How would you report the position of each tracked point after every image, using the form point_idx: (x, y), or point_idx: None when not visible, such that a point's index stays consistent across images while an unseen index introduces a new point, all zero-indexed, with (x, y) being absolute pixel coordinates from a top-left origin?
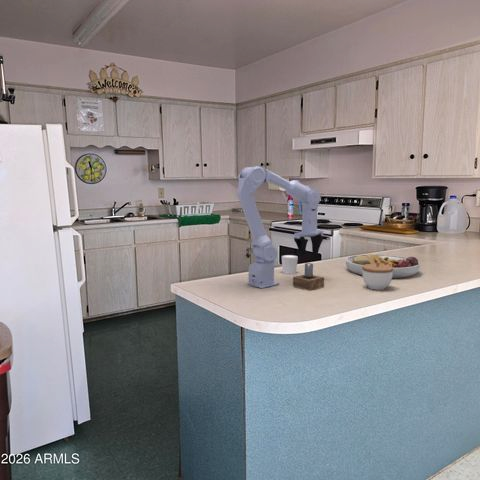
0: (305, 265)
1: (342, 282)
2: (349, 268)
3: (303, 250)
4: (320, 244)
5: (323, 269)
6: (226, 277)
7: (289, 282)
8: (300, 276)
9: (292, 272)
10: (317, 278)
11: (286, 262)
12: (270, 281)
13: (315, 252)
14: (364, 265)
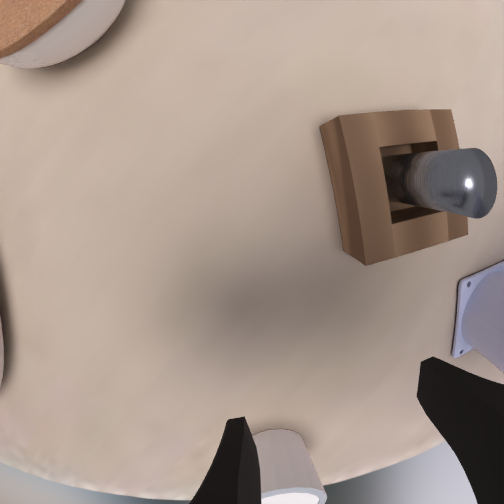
0: (490, 188)
1: (144, 163)
2: (2, 340)
3: (477, 379)
4: (198, 499)
5: (95, 426)
6: None
7: (406, 298)
8: (437, 225)
9: (279, 433)
10: (389, 123)
11: (316, 473)
12: (501, 276)
13: (250, 439)
14: (48, 5)
